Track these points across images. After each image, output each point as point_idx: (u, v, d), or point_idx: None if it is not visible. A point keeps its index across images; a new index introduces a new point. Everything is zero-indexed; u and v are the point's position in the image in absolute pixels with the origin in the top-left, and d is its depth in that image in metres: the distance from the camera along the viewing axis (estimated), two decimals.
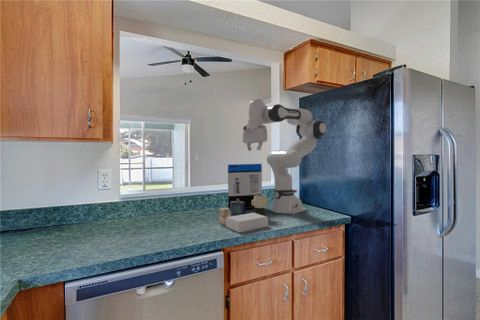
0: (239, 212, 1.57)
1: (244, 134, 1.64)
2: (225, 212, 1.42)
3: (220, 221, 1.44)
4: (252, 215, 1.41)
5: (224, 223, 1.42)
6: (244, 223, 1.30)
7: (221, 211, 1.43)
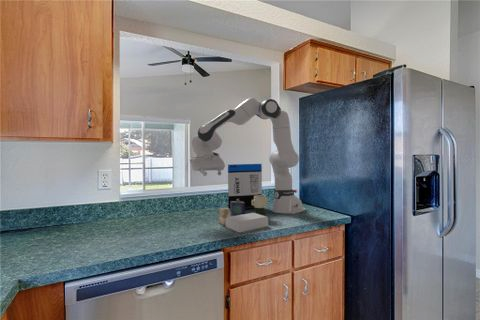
0: (239, 212, 1.57)
1: None
2: (225, 212, 1.42)
3: (220, 221, 1.44)
4: (252, 215, 1.41)
5: (224, 223, 1.42)
6: (244, 223, 1.30)
7: (221, 211, 1.43)
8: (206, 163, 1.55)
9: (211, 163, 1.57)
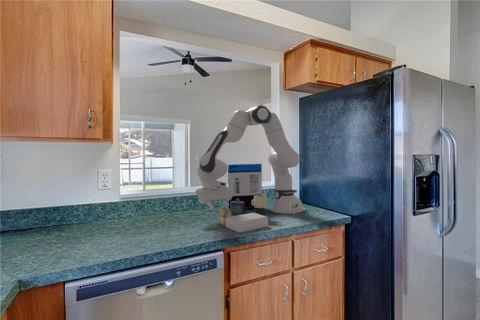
0: (239, 212, 1.57)
1: None
2: (225, 212, 1.42)
3: (220, 221, 1.44)
4: (252, 215, 1.41)
5: (224, 223, 1.42)
6: (244, 223, 1.30)
7: (221, 211, 1.43)
8: (213, 195, 1.49)
9: (218, 194, 1.51)
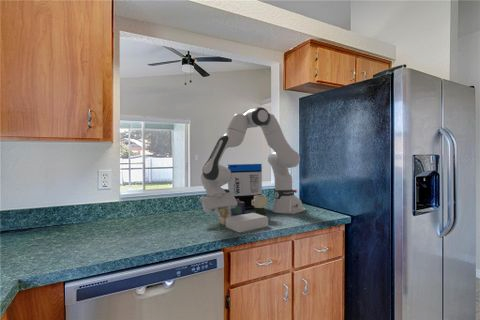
0: (239, 212, 1.57)
1: None
2: (225, 212, 1.42)
3: (220, 221, 1.44)
4: (252, 215, 1.41)
5: (224, 223, 1.42)
6: (244, 223, 1.30)
7: (221, 211, 1.43)
8: (217, 203, 1.46)
9: (223, 202, 1.47)
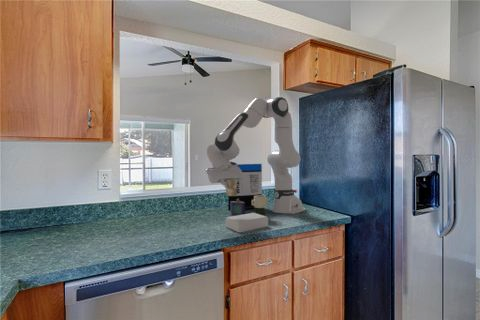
0: (239, 212, 1.57)
1: None
2: (232, 183, 1.40)
3: (227, 192, 1.42)
4: (252, 215, 1.41)
5: (231, 194, 1.40)
6: (244, 223, 1.30)
7: (227, 182, 1.41)
8: (224, 174, 1.43)
9: (229, 174, 1.45)
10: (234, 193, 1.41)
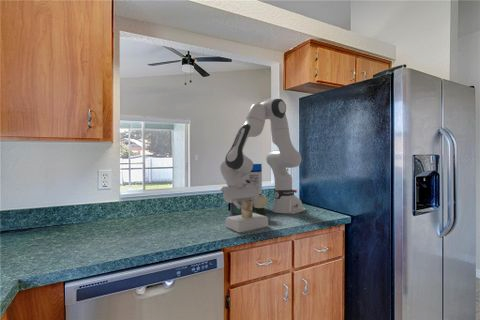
0: (239, 212, 1.57)
1: None
2: (248, 205, 1.36)
3: (242, 214, 1.37)
4: (252, 215, 1.41)
5: (247, 216, 1.35)
6: (244, 223, 1.30)
7: (243, 203, 1.36)
8: (239, 193, 1.39)
9: (245, 193, 1.41)
10: (250, 215, 1.37)
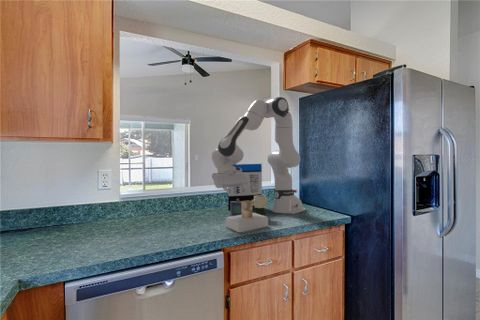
0: (239, 212, 1.57)
1: None
2: (248, 205, 1.36)
3: (242, 214, 1.37)
4: (252, 215, 1.41)
5: (247, 216, 1.35)
6: (244, 223, 1.30)
7: (243, 203, 1.36)
8: (229, 179, 1.47)
9: (234, 179, 1.49)
10: (250, 215, 1.37)
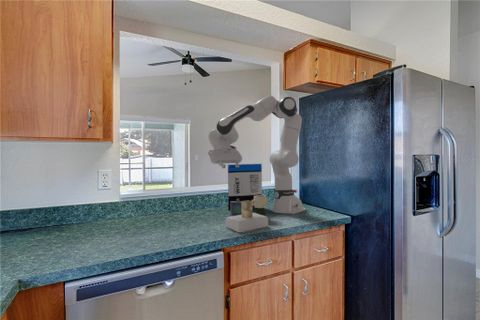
0: (239, 212, 1.57)
1: None
2: (248, 205, 1.36)
3: (242, 214, 1.37)
4: (252, 215, 1.41)
5: (247, 216, 1.35)
6: (244, 223, 1.30)
7: (243, 203, 1.36)
8: (224, 156, 1.58)
9: (229, 156, 1.60)
10: (250, 215, 1.37)
